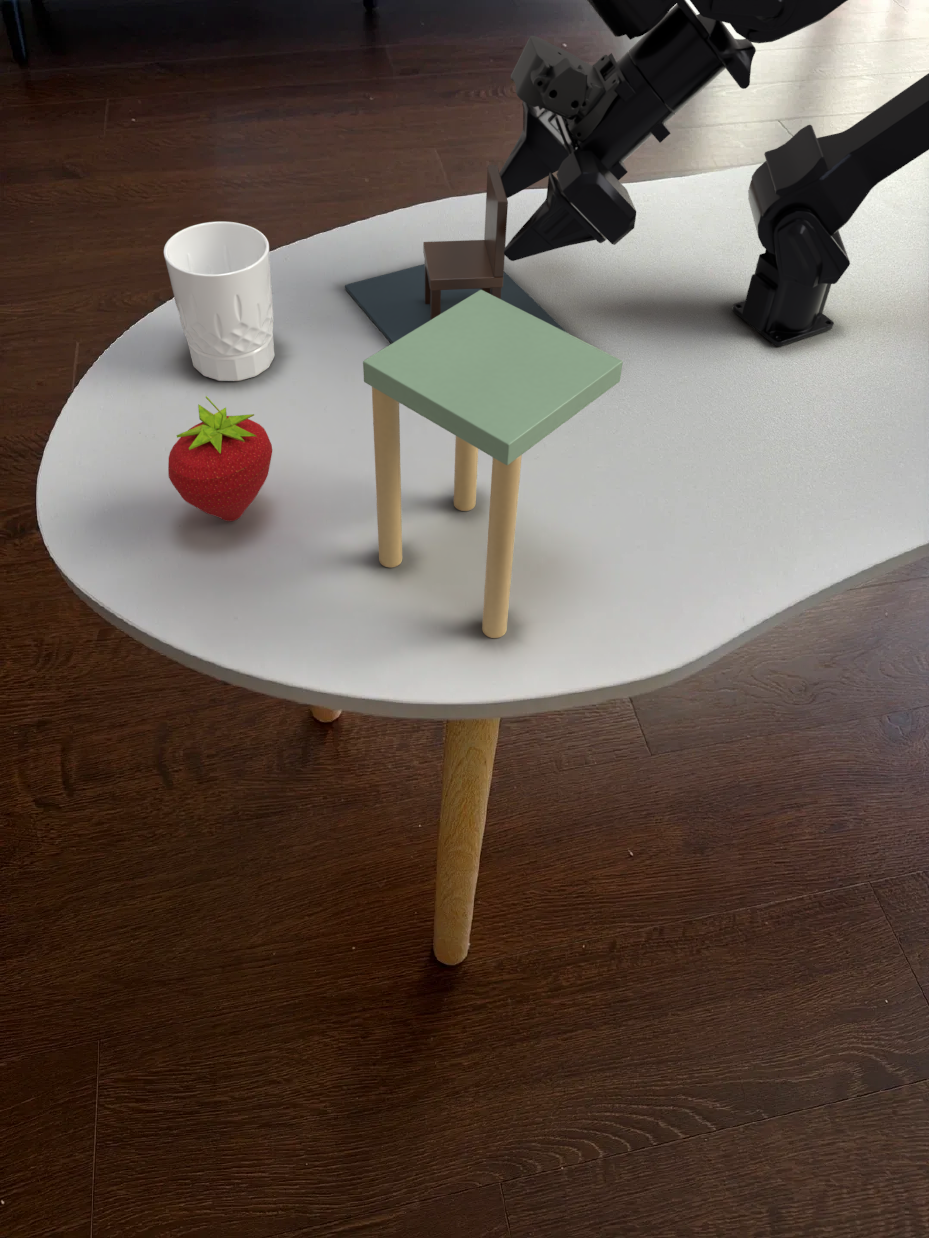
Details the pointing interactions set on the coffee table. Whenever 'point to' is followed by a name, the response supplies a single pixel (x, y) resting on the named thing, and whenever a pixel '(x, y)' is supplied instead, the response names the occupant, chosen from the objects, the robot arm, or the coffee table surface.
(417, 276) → the mat
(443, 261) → the chair
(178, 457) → the strawberry
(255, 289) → the white cup
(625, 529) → the coffee table surface
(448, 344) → the side table
